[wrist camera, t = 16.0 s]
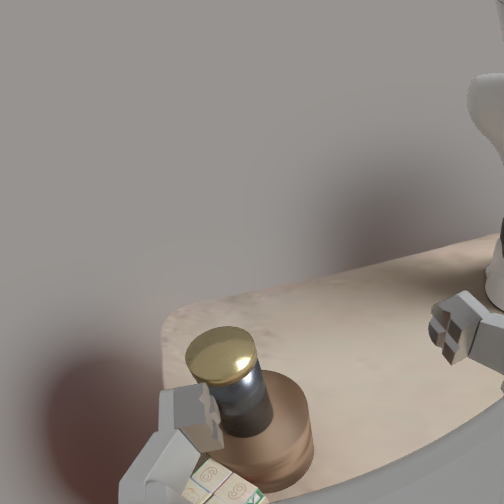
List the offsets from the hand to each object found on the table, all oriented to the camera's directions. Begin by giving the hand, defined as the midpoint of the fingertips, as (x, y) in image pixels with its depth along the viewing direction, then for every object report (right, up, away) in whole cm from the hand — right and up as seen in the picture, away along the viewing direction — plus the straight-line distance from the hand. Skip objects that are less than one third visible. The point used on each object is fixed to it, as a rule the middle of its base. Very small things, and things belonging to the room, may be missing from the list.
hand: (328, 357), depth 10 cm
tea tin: (-3, -13, +19) cm, 24 cm away
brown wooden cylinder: (-1, -21, +24) cm, 32 cm away
